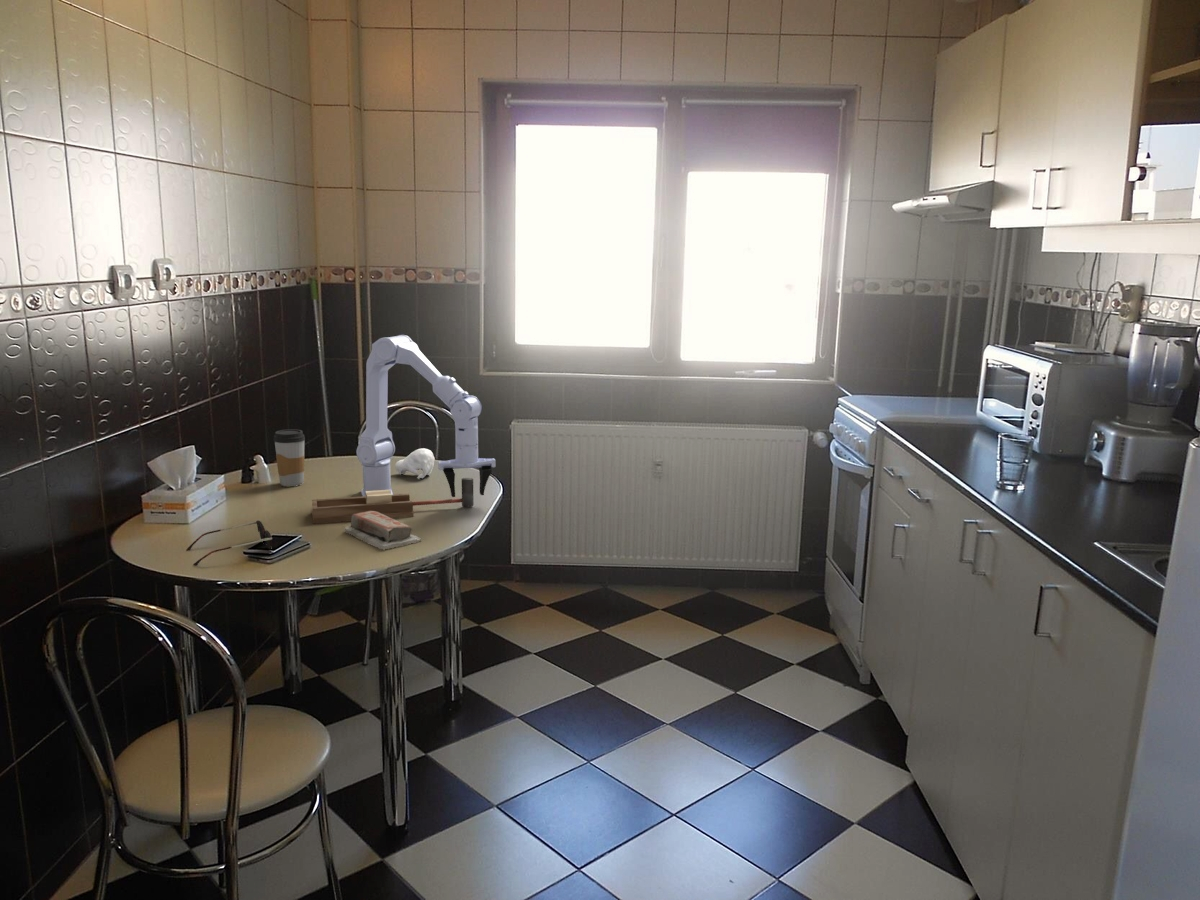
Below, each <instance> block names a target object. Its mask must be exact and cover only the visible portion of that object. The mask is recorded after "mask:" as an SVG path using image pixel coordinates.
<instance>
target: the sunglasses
mask: <svg viewBox="0 0 1200 900" xmlns="http://www.w3.org/2000/svg"><path fill="white" fill-rule="evenodd" d="M251 525H256V526H257V531H258V533H259V535H260V536H259V537H260V538H259V540H255V541H252V542H247V543H242V544H237V545H232V546H228V547H223V548H219V549H215V550H212V551H210V552H208V553H207V554H205V555H204V556H202V557H200V558H199V559H198V560H197V561H196V562H195V563H193V565H192V566H198V565H199V564H200V562H201V561H203V560H205V558H208V557H209V556H210V555H213V554H214V553H217V552H221V551H225V550H231V549H233V548H234V549H235V548H238V547H243V546H248V545H252V544H258V543H260V542H261V543H263V541H267V542H268V543H269V546H270V547H271V548H272V547H273V537H272V534H271V533H270V531H269V530H267V529H266V528H265V527H264V525H263V522H262V521H260V520H256V521H253V522H249V523H244V524H241V525H240V524H239V525H236V526H231V527H226V528H222V529H221V528H220V529H215V530H212V531H211V530H210V531H208V532H205V533H202V534H201V535H200V536H199V537H198V538H196V539H195V540H194V541H193V542H192V543H191V544H190V545H189V546H188V547H187V548H186V549H185V550H186V551H191V549H192V548H193V547H194V545H195V544H196V543H197V542H198V541H199V540H200V539H201V538H203V537H205V536H207V535H209V534H214V533H218V532H222V531H227V530H232V529H236V528H242V527H245V526H251ZM265 529H266V530H265Z"/></svg>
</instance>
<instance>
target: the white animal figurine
mask: <svg viewBox="0 0 1200 900" xmlns="http://www.w3.org/2000/svg"><path fill="white" fill-rule="evenodd" d="M435 460H436V459H435V456H434V453H433V452H432V450H430V449H428V448H424V447H423V448H418V449H415V450H414V451H412V452H411V453H410V454H409V455H407V456H406V457H405V458H404V459H400V460H398V461H396V462H395V464H394V465H395V466H394V467H395V470H396V471H397V473H398V474H399V476H402V475H401V474H405V475H406V474H407V472H409V473H412V474H414V475H418V476H417V477H416V479H417V478H422V479H425V477H427V476H426V475H429V476H430V475H431V473H432V471H433V469H434V466H435V465H434V464H435ZM419 470H421V471H422V472H421V473H419V472H418V471H419ZM418 473H419V474H418Z"/></svg>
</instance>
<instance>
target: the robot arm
mask: <svg viewBox="0 0 1200 900" xmlns="http://www.w3.org/2000/svg"><path fill="white" fill-rule="evenodd" d="M365 364H366V367H365V368H366V371H365V374H366V380H365V381H366V383H365V386H366V387H365V388H366V389H365V391H366V393H365V395H366V397H365V399H366V400H365V414H366V415H365V430H364V431H363V432H362V433H361V435H359V443H358V445H357V448H356V458H357V459H358V461H359V462H360V463H361V466H362V480H363V481H362V484H363V486H362V487H363V488H362V489H360V492H361V497H364V496H366V491H377V490H390V492H391V494H392V495H394V493H393V490H392V483H391V481H392V480H391V478H392V477H391V462H392V457H393V456H394V454H395V452H396V446H395V442H394V439H393V433H392V431H391V430H390V429H389V428H388V390H389V389H388V387H389V384H388V383H389V382H388V381H389V380H388V379H389V378H388V377H389V374H388V373H389V370H390V369H391V368H392V367H394V365H396V364H401V365H409V366H411V367H412V368H413V369H414V370H415V371H416V372H417V373H419V375H421V376H422V377H423V378H424V379H426V380H427V381H428V382H429V383H430V384H431V385H432V392H433V394H435V395H436V396H437V397H438V398H439V399H440V400H441V402H443V403H444V404H445V405H446V406H447V408H449V409H450V415H451V416H452V418H453V421H454V426H455V427H454V428H455V430H454V431H455V432H454V433H455V458H454V459H449V460H439V461H437V463H438V465H437V468H438V471H443V474H444V476H445V478H446V481H447V483H448V486H449V491H450V495H451V497H452V498H455V497H456V487H455V482H456V481H455V478H456V477H455V476H456V473H455V470H457V469H458V470H459V469H475V468H478V470H479V471H478V474H479V494H480V496H485V495H484V494H485V490H486V485H487V482H488V480H489V478H490V476H491V474H492V471H493V469H492V468H496V464H497V463H496V459H495V458H482V457H481V458H480V457H479V416H480V415H481V413H482V403H481V401H480V400H479V398H478V397H477V396H475V395H470V394H469V392H468V391H466V390H463V388H462V387H461V386H460V385H459V384H458V383H457V382H456V381H457V380H456V379H455V378H454V377H451V376H450V375H442V374H441V372H440V371H439V370H438V369H437V368H436V367H435V366H434V364H432V363H431V361H430V360H429V359H428V357H426V355H424V353H423V352H422V351H421V350H420V348H419V346H418V344H417V343H416V342H414V341H413V340H412V338H411V337H410V336H408V335H405V334H398V335H396V336H390V337H389V336H388V337H385V336H384V337H380V338H378V339H377V340H376V341H375V342H373V343H371V352H370V353H369V355H368V358H367V360H366V363H365Z"/></svg>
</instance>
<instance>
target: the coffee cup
mask: <svg viewBox="0 0 1200 900" xmlns="http://www.w3.org/2000/svg"><path fill="white" fill-rule="evenodd" d="M303 432H304V431H303V430H301V429H290V428H289V429H281V430H277V431H275V432H274V435H273V442H274V447H275V454H276V455H275V457H276V465H277V472H278V477H279V484H280V485H281V486H282V485H283V486H282V487H285V486H294V487H297V486H296V485H300V484H302V483H303V484H304V482H305V440H306V438H305V434H304V433H303ZM303 484H302V485H303ZM300 486H301V485H300Z"/></svg>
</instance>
